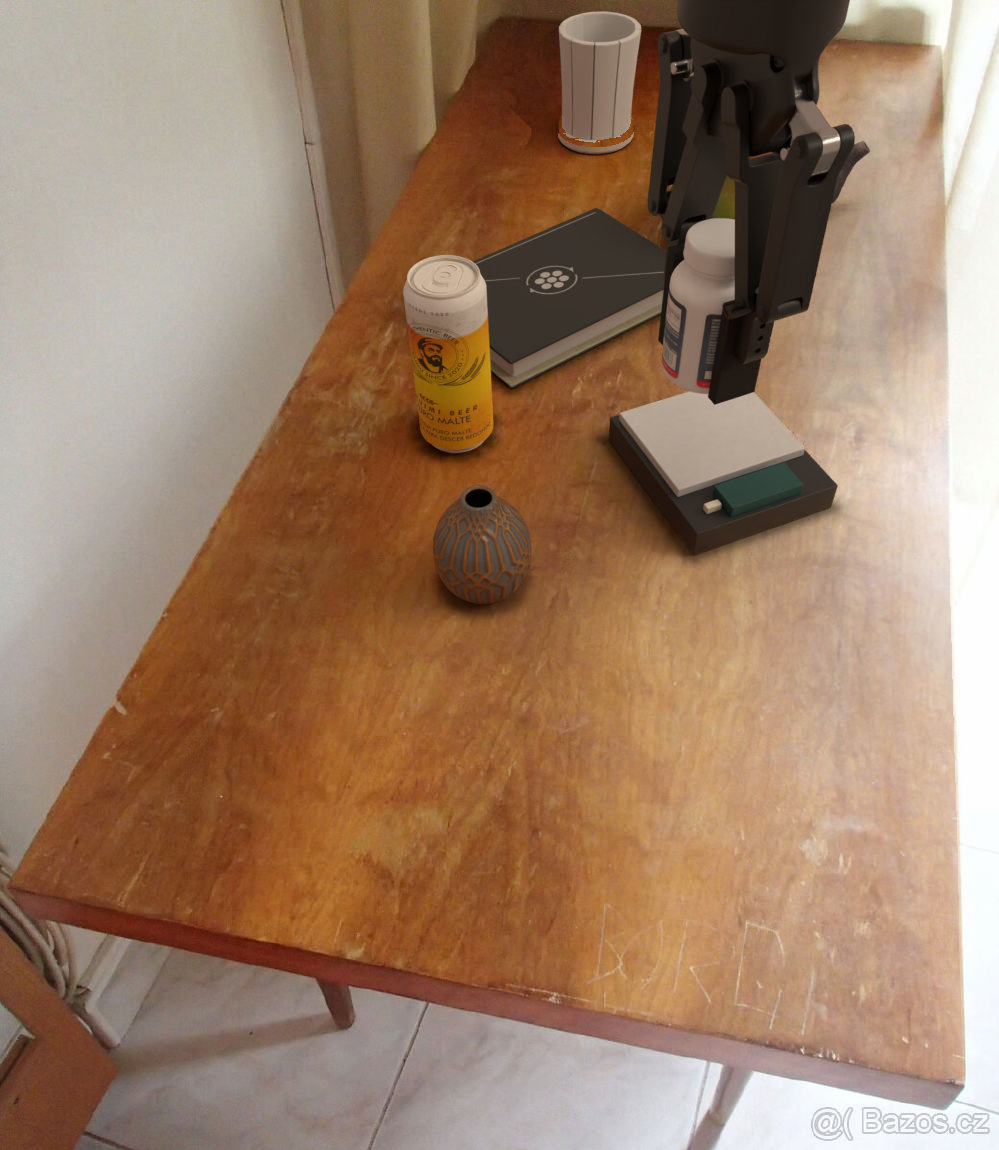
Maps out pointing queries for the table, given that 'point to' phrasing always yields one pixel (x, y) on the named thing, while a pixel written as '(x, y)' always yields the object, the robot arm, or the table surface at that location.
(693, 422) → the scale
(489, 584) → the vase
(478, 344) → the beer can
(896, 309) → the table surface
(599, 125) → the cup
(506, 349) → the book
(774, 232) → the robot arm
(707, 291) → the pill bottle
